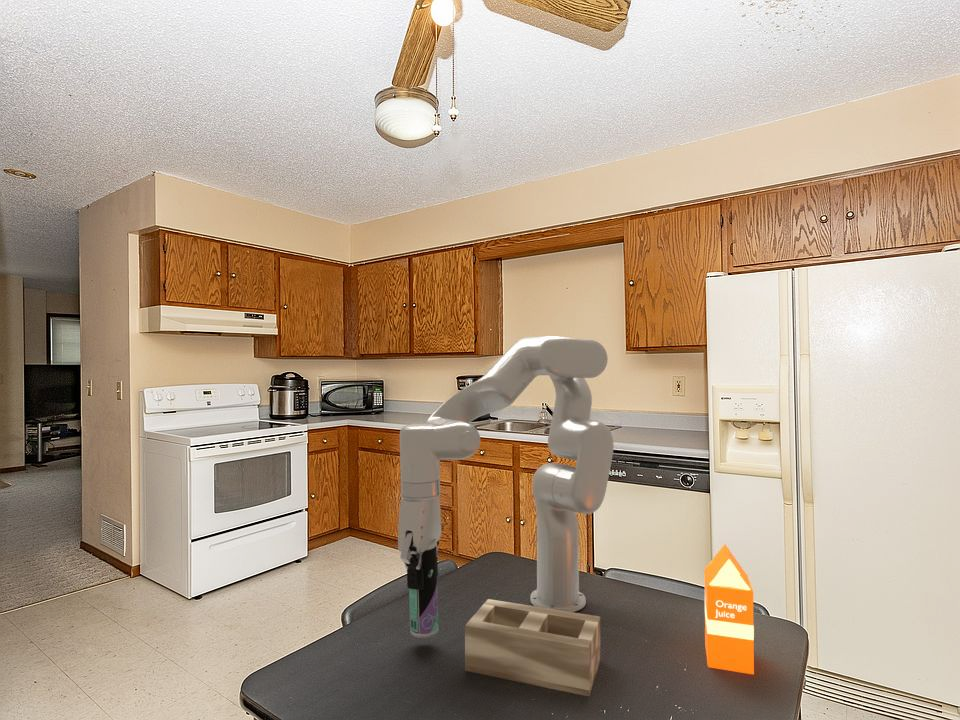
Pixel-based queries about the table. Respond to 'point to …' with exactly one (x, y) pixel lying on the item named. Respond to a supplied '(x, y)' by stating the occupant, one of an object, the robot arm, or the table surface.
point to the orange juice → (728, 615)
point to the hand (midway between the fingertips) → (423, 581)
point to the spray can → (425, 597)
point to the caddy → (534, 646)
